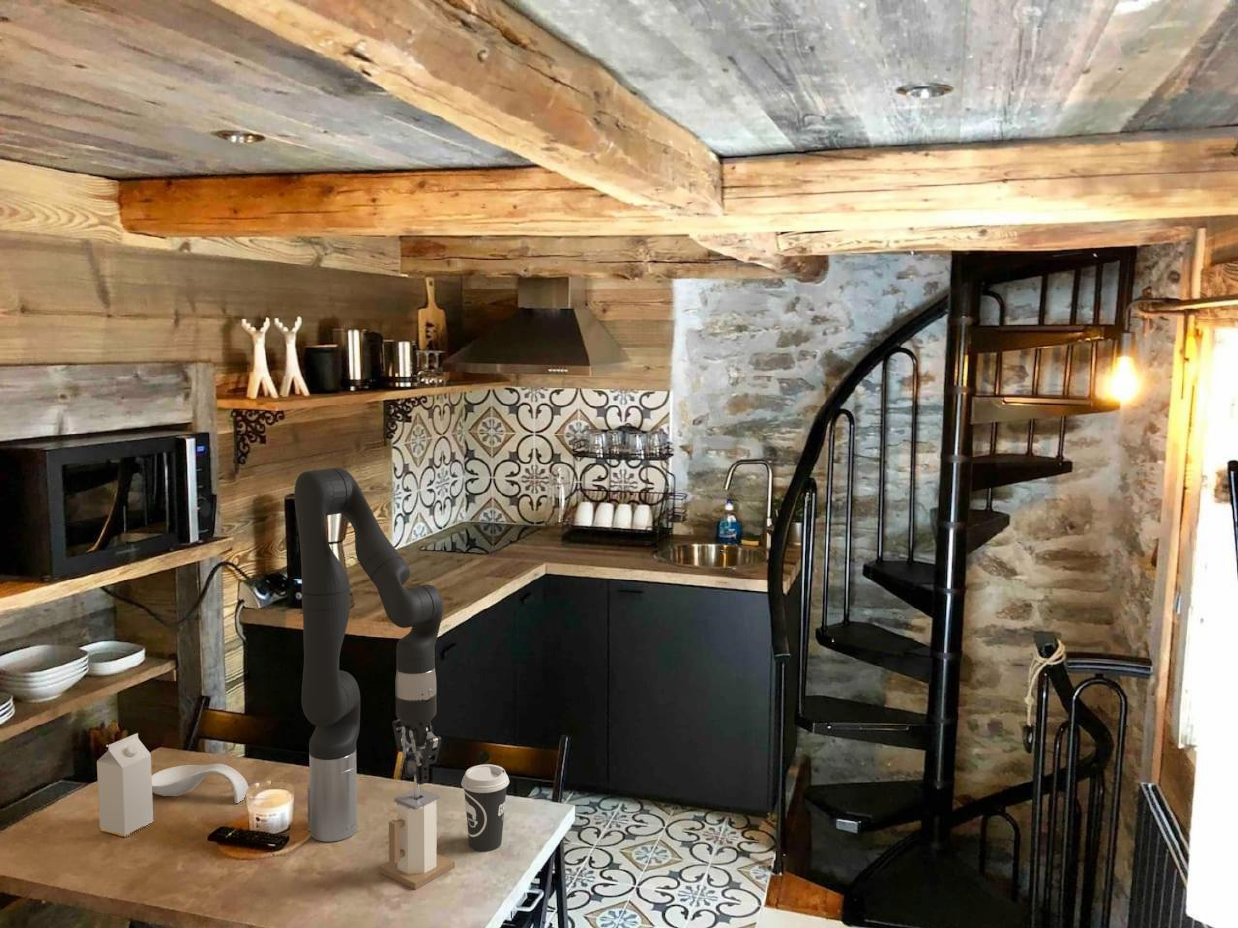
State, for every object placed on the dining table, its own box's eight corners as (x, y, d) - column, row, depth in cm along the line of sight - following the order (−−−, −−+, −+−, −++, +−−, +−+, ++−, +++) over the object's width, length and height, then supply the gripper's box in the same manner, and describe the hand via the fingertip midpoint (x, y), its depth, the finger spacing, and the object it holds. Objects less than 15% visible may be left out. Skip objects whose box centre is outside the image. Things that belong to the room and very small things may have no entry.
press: (374, 874, 187) (373, 801, 186) (419, 851, 196) (418, 781, 195) (410, 892, 182) (410, 816, 180) (454, 867, 191) (454, 794, 189)
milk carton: (99, 831, 203) (95, 742, 201) (128, 816, 209) (124, 730, 207) (125, 838, 200) (121, 747, 198) (153, 823, 207) (150, 735, 204)
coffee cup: (500, 857, 195) (500, 784, 193) (454, 852, 196) (454, 779, 195) (515, 834, 204) (515, 765, 202) (471, 829, 206) (470, 760, 204)
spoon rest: (133, 799, 218) (132, 768, 217) (169, 778, 229) (168, 748, 228) (229, 812, 212) (228, 780, 212) (260, 789, 224) (259, 759, 223)
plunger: (398, 828, 188) (398, 759, 187) (417, 819, 192) (417, 752, 190) (416, 835, 185) (415, 766, 184) (435, 826, 189) (434, 758, 188)
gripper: (378, 686, 188) (379, 773, 190) (419, 706, 178) (420, 797, 180) (412, 678, 193) (413, 762, 195) (454, 696, 183) (454, 785, 185)
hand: (416, 779), depth 187 cm, fingers closed on plunger, 3 cm apart
